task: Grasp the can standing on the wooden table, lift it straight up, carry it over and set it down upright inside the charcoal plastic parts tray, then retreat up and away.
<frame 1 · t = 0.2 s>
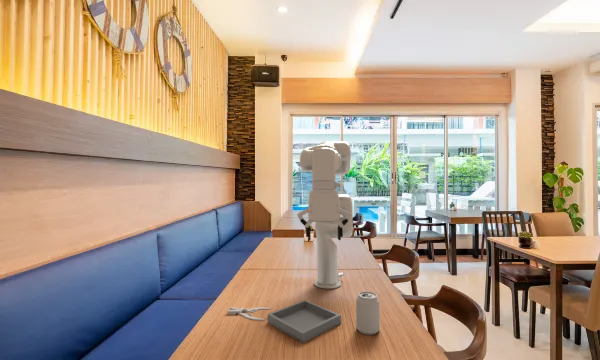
hand: (324, 239, 98), 31 cm above the table, tool pointing down, fingers open, 9 cm apart
pliers: (247, 314, 114), on the table
parts tray: (304, 323, 106), on the table
can: (367, 330, 101), on the table
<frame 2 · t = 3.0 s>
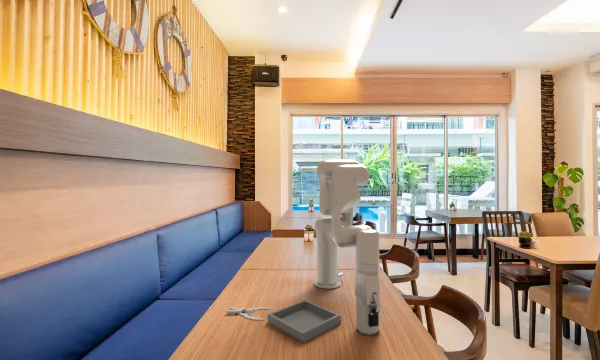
hand: (367, 319, 101), 3 cm above the table, tool pointing down, fingers closed on can, 7 cm apart
can: (367, 330, 101), on the table, touching gripper
everything else where it was.
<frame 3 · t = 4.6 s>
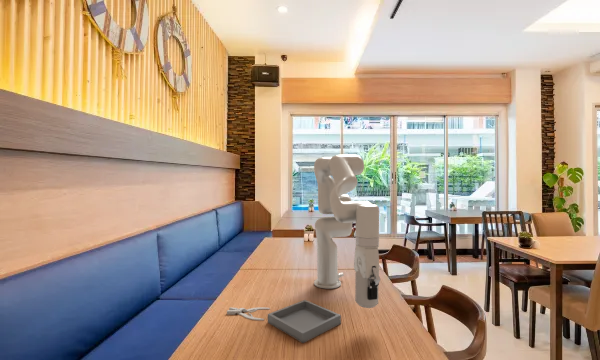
hand: (366, 293, 101), 12 cm above the table, tool pointing down, fingers closed on can, 7 cm apart
can: (366, 304, 101), point 8 cm above the table, touching gripper
everything else where it was.
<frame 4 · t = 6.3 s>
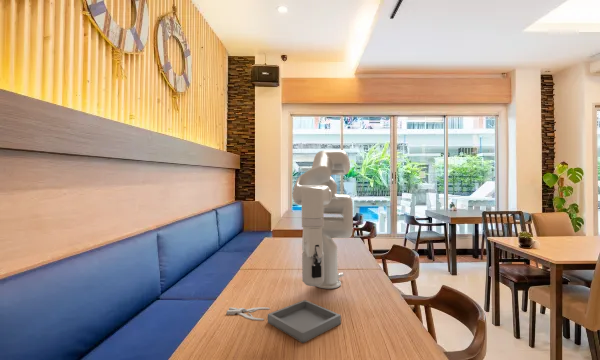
hand: (313, 273, 105), 18 cm above the table, tool pointing down, fingers closed on can, 7 cm apart
can: (313, 283, 105), point 14 cm above the table, touching gripper
everything else where it was.
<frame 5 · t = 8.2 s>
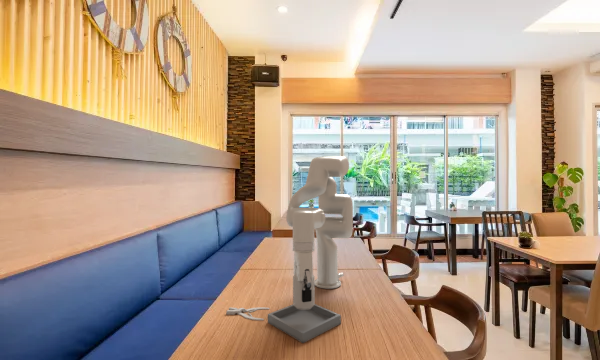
hand: (303, 296, 106), 9 cm above the table, tool pointing down, fingers closed on can, 7 cm apart
can: (303, 307, 106), point 6 cm above the table, touching gripper
everything else where it was.
when the fingers open (5 cm above the table, at t = 9.6 s): can drops 1 cm, resting on parts tray.
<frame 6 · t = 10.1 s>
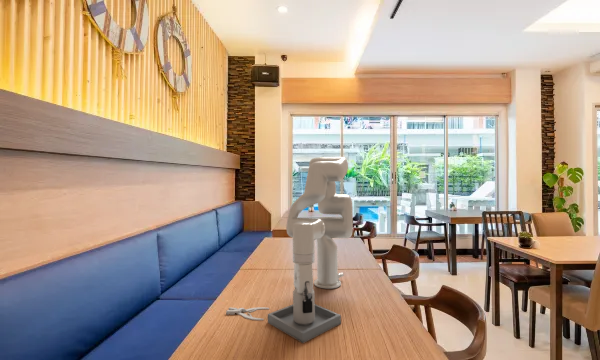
hand: (304, 306, 106), 6 cm above the table, tool pointing down, fingers open, 9 cm apart
can: (304, 321, 106), resting on parts tray
everything else where it was.
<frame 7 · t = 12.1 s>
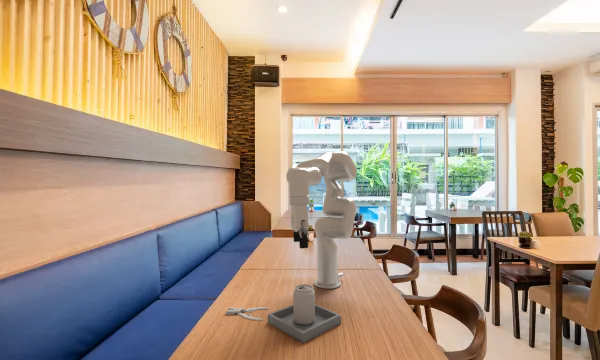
hand: (300, 244, 117), 25 cm above the table, tool pointing down, fingers open, 9 cm apart
nothing on the table moved.
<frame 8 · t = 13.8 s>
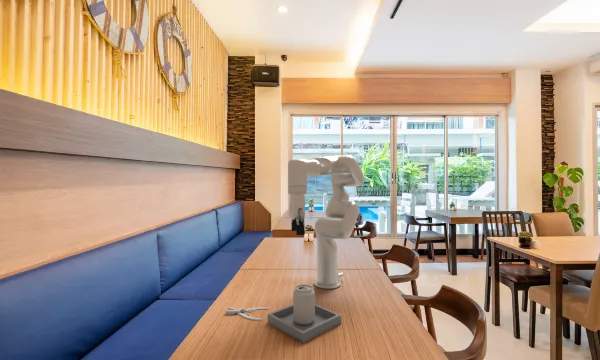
hand: (297, 232, 123), 28 cm above the table, tool pointing down, fingers open, 9 cm apart
nothing on the table moved.
at the end: can inside the target area on the parts tray (0.2 cm from its centre), point 0.4 cm above the parts tray's base; can tilted 0°; the gripper is holding nothing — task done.
